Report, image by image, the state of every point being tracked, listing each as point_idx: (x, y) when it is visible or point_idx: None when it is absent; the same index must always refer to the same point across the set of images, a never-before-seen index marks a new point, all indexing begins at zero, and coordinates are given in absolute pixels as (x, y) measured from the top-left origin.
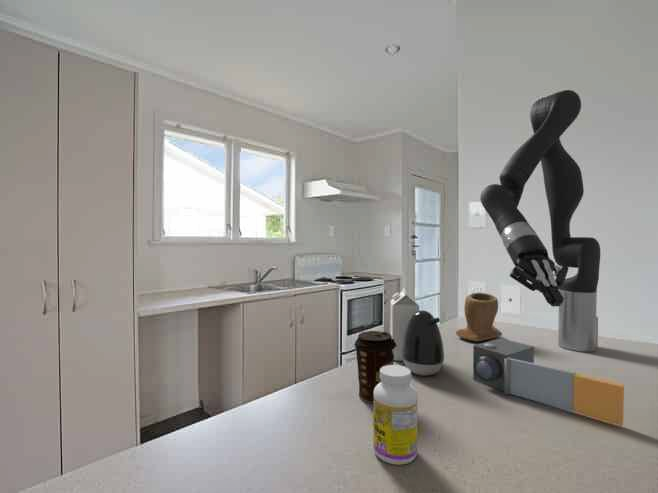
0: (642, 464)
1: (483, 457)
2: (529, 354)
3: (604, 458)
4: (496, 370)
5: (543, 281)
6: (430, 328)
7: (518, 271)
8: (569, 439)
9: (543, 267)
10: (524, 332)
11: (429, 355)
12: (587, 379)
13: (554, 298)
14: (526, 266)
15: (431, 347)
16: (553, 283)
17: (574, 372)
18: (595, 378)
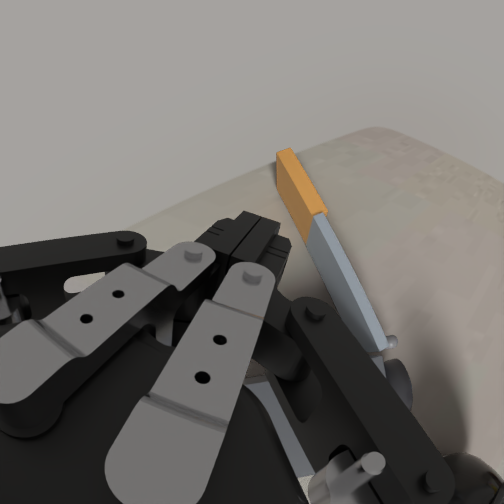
0: (349, 141)
1: (499, 218)
2: (261, 380)
3: (381, 162)
4: (395, 359)
5: (256, 294)
6: (495, 489)
7: (427, 448)
8: (387, 200)
9: (90, 371)
10: None
11: (473, 458)
12: (316, 191)
13: (275, 232)
14: (281, 499)
15: (477, 465)
16: (202, 250)
17: (314, 217)
18: (298, 186)
